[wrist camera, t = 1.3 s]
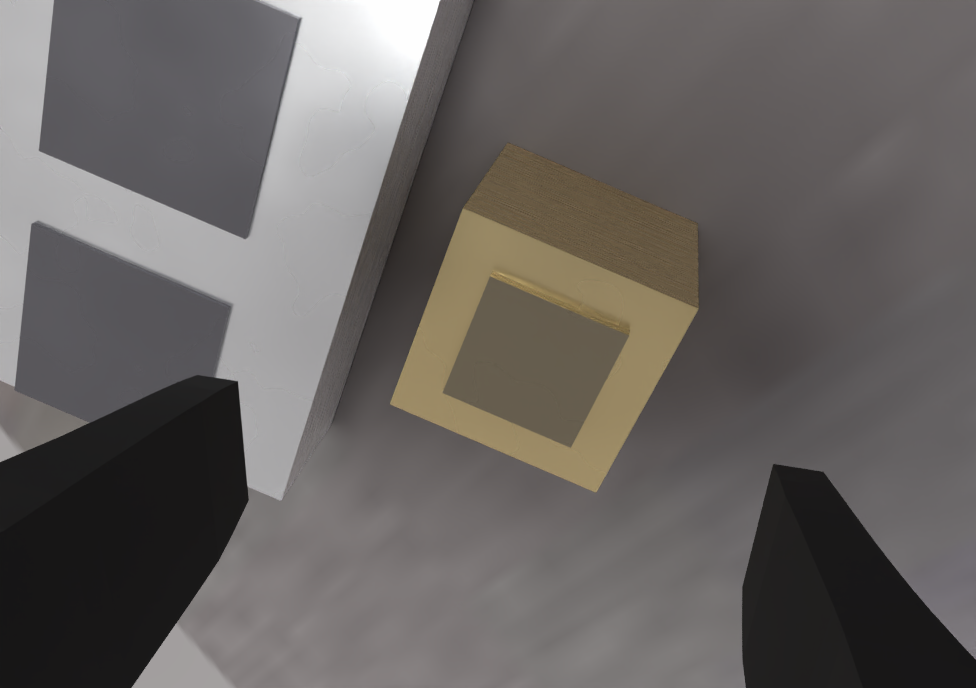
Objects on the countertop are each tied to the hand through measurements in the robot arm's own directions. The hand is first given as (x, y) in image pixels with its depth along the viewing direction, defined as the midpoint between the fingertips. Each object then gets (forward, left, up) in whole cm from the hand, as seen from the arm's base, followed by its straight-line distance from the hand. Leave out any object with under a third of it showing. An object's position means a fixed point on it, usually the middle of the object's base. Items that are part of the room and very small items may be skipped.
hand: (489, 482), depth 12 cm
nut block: (0, 0, -8) cm, 8 cm away
